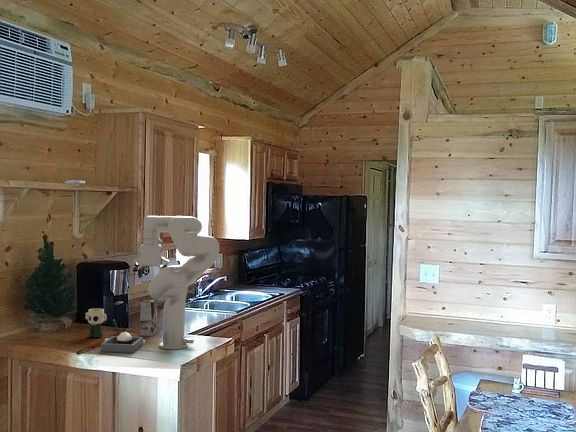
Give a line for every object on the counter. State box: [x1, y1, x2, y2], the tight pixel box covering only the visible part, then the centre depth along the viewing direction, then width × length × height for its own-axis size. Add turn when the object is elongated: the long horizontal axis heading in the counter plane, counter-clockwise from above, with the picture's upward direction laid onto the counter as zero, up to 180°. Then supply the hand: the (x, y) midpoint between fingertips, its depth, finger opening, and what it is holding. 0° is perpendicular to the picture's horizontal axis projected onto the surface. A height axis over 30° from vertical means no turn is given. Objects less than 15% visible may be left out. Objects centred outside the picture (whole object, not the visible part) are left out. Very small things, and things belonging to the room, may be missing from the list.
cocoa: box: [112, 319, 135, 345], centre depth 270 cm, size 10×6×12 cm, turn 70°
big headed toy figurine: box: [85, 308, 107, 338], centre depth 290 cm, size 11×7×13 cm, turn 76°
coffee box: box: [139, 299, 158, 337], centre depth 300 cm, size 9×6×16 cm
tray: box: [100, 335, 144, 354], centre depth 271 cm, size 14×15×4 cm
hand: (150, 278), depth 291 cm, fingers open, 9 cm apart
